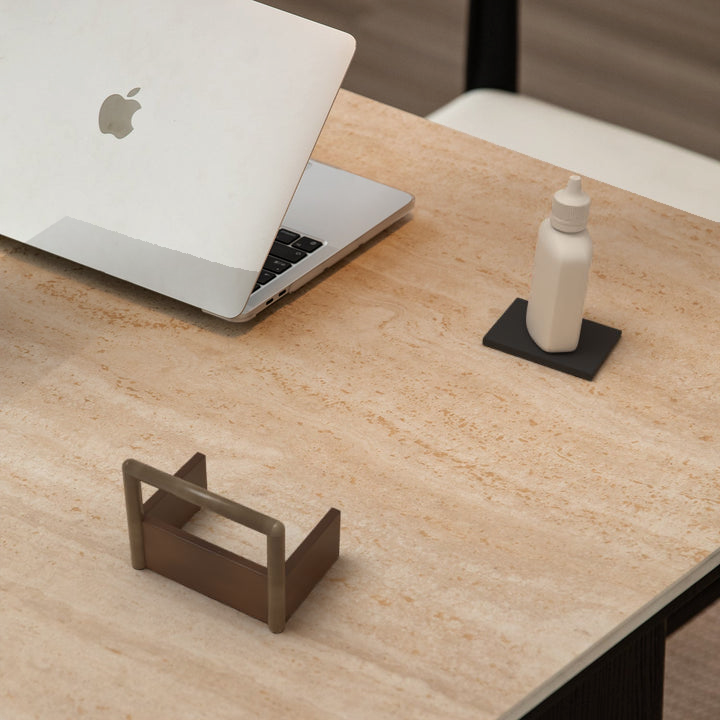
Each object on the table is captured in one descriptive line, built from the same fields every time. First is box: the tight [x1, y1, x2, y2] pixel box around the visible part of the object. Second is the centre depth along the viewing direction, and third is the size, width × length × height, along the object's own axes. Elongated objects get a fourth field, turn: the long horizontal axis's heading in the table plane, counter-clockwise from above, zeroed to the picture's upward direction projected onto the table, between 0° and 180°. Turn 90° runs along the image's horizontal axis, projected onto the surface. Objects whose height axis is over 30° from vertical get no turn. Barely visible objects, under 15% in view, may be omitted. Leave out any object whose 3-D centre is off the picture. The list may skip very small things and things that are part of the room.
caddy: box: [121, 451, 342, 634], centre depth 66 cm, size 10×7×7 cm
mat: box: [481, 297, 623, 382], centre depth 86 cm, size 8×6×1 cm
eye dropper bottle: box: [526, 174, 594, 352], centre depth 83 cm, size 4×6×12 cm
